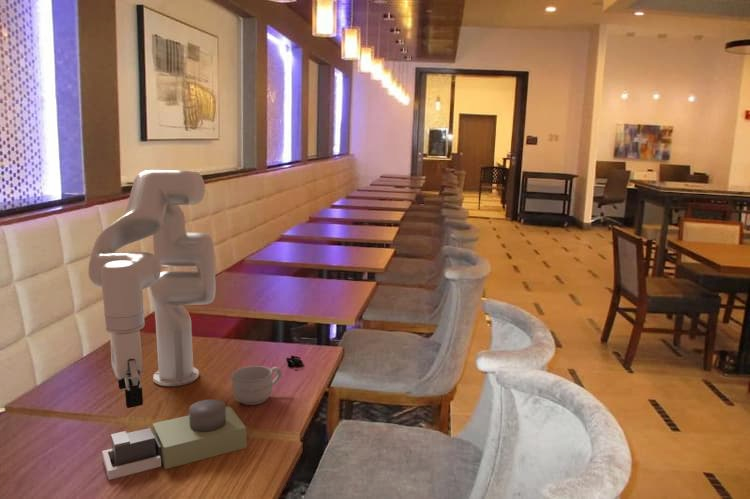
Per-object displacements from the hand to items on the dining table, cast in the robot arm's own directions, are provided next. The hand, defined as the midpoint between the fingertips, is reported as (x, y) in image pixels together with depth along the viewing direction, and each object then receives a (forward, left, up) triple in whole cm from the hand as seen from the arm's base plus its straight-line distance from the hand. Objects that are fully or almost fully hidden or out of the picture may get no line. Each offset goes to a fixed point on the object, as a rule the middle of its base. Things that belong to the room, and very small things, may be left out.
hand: (130, 396), depth 129 cm
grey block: (0, 0, -15) cm, 15 cm away
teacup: (-16, +34, -15) cm, 41 cm away
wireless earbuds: (-33, +52, -16) cm, 63 cm away
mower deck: (0, +8, -15) cm, 17 cm away
